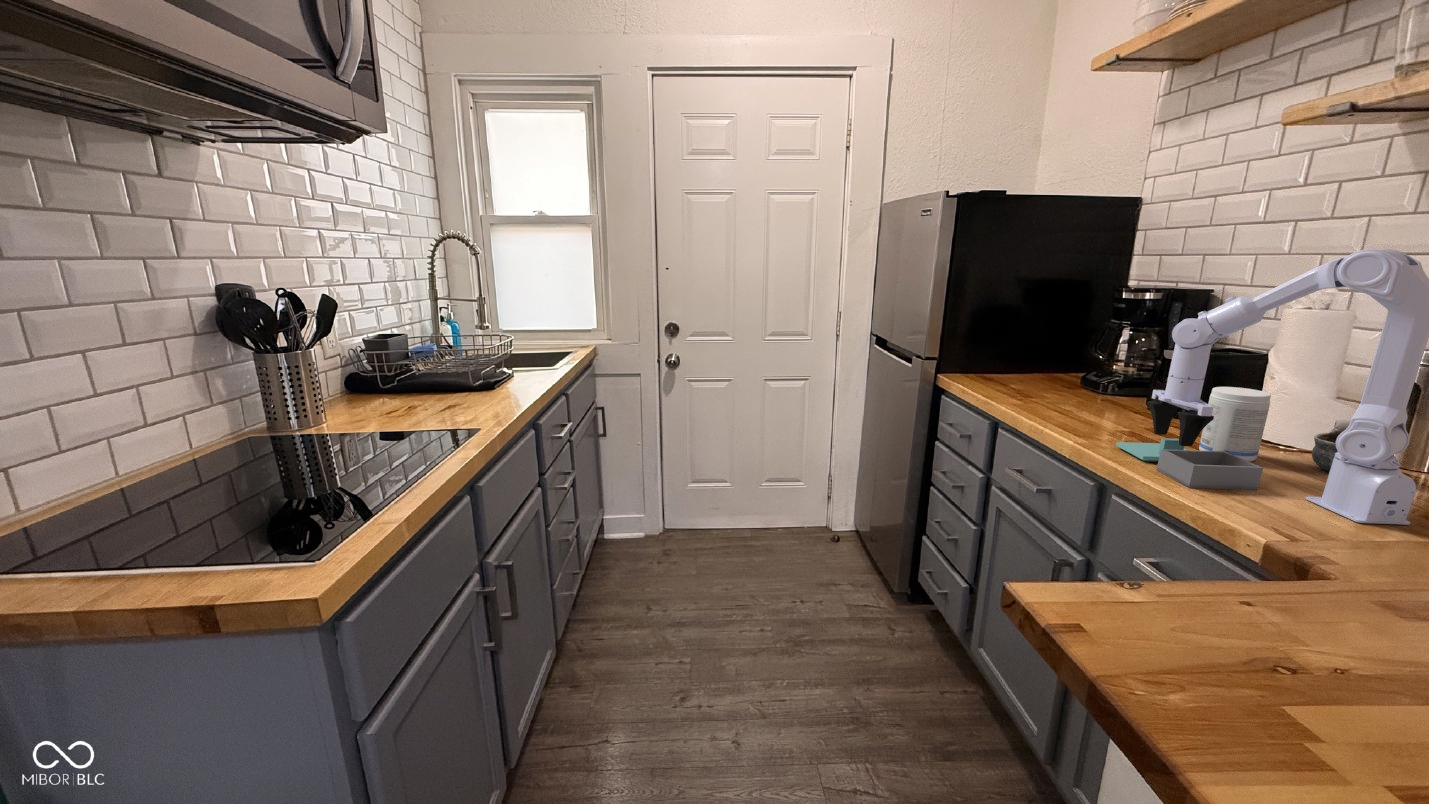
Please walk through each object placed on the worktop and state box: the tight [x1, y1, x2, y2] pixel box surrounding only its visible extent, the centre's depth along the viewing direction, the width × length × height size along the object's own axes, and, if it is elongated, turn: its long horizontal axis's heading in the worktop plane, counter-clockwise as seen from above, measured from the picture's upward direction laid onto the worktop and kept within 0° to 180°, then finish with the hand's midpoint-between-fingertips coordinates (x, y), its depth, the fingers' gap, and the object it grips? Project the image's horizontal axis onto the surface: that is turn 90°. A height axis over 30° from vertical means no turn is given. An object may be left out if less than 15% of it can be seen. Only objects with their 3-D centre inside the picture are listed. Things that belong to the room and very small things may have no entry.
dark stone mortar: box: [1311, 419, 1351, 473], centre depth 113 cm, size 10×12×10 cm
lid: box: [1115, 437, 1188, 463], centre depth 121 cm, size 9×12×5 cm
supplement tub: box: [1198, 386, 1272, 463], centre depth 120 cm, size 10×10×15 cm
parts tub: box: [1156, 449, 1264, 491], centre depth 108 cm, size 9×12×4 cm
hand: (1172, 439), depth 118 cm, fingers open, 7 cm apart
